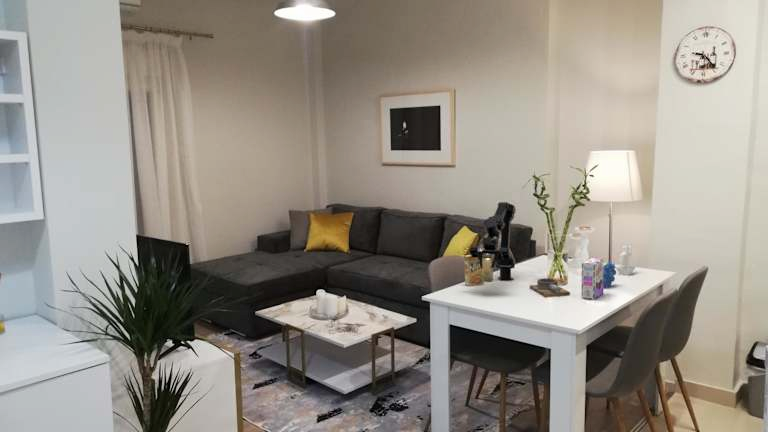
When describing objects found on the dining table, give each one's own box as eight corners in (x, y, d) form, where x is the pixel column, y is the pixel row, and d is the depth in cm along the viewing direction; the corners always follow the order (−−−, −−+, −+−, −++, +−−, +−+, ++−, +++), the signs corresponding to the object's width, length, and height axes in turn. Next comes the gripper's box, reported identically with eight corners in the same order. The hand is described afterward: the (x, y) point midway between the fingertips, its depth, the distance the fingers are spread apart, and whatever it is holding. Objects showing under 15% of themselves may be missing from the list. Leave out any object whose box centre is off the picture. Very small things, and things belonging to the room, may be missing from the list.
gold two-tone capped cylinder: (481, 280, 274) (480, 252, 272) (491, 279, 275) (490, 252, 273) (484, 282, 269) (483, 254, 267) (494, 281, 270) (494, 254, 268)
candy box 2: (594, 300, 256) (594, 263, 254) (581, 298, 259) (581, 262, 258) (603, 293, 267) (604, 258, 265) (591, 292, 270) (591, 257, 269)
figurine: (614, 274, 304) (614, 246, 303) (623, 271, 310) (623, 244, 309) (627, 276, 299) (627, 247, 297) (636, 273, 305) (636, 245, 303)
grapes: (606, 283, 286) (606, 259, 285) (619, 285, 281) (619, 261, 279) (593, 287, 279) (593, 262, 278) (606, 289, 274) (606, 264, 272)
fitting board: (529, 288, 282) (529, 278, 281) (553, 286, 283) (553, 276, 283) (545, 297, 264) (545, 286, 264) (569, 295, 266) (569, 284, 265)
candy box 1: (468, 286, 291) (467, 256, 290) (464, 284, 295) (463, 255, 294) (484, 284, 294) (483, 254, 292) (480, 282, 298) (479, 253, 296)
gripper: (469, 230, 277) (463, 256, 268) (508, 230, 269) (503, 258, 260) (475, 243, 285) (468, 270, 276) (512, 244, 277) (507, 272, 268)
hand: (486, 267), depth 270 cm, fingers closed on gold two-tone capped cylinder, 5 cm apart
